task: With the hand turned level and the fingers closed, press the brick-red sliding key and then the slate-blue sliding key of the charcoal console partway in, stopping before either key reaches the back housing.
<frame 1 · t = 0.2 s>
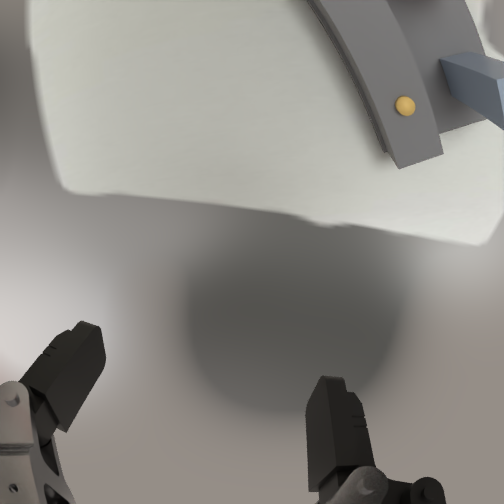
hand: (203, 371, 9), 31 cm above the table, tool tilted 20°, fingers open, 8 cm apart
blue key: (487, 84, 18), point 7 cm above the table, slide at 0.0 cm
console: (437, 20, 19), on the table
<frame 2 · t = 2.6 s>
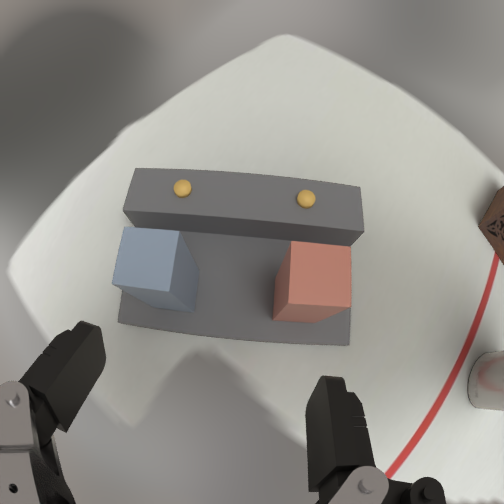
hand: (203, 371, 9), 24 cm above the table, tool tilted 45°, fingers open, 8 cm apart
blue key: (163, 276, 28), point 7 cm above the table, slide at 0.0 cm
console: (235, 297, 35), on the table
red key: (305, 289, 28), point 7 cm above the table, slide at 0.0 cm
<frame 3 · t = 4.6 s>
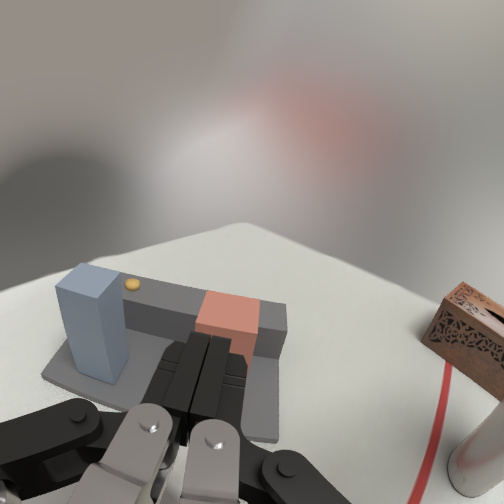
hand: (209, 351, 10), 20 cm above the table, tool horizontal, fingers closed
blue key: (95, 326, 27), point 7 cm above the table, slide at 0.0 cm
console: (158, 386, 30), on the table
red key: (222, 358, 27), point 7 cm above the table, slide at 0.0 cm
tissue box cover: (478, 363, 40), on the table
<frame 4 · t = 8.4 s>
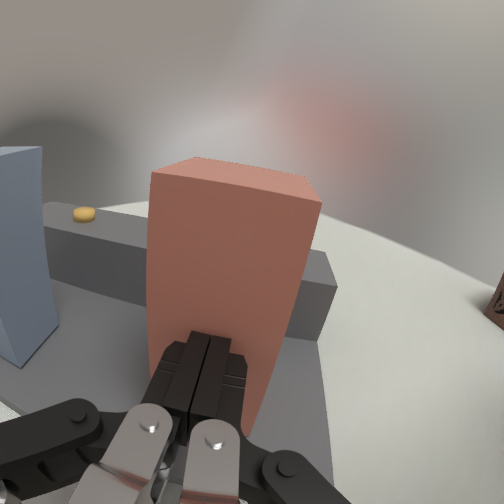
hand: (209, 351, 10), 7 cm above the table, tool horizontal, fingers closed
console: (98, 380, 15), on the table
red key: (221, 310, 13), point 7 cm above the table, slide at 0.7 cm, touching gripper
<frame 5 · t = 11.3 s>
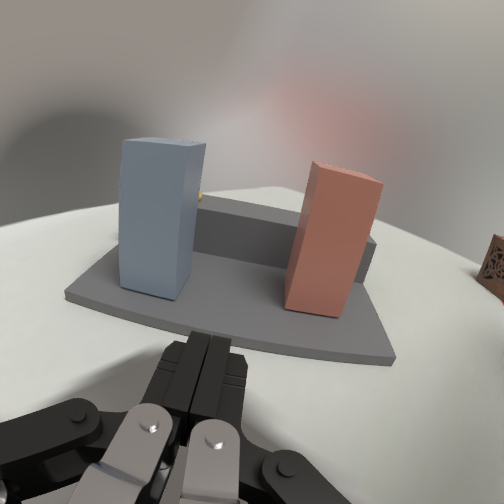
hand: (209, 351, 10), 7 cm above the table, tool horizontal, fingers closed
blue key: (159, 215, 23), point 7 cm above the table, slide at 0.0 cm
console: (231, 306, 26), on the table
red key: (328, 239, 24), point 7 cm above the table, slide at 2.0 cm
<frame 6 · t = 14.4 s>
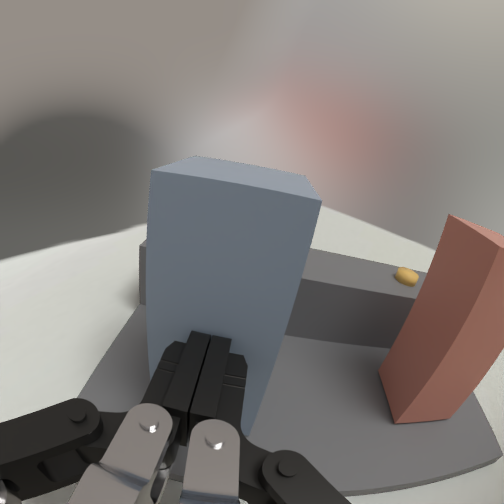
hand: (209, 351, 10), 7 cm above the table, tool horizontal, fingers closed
blue key: (221, 309, 13), point 7 cm above the table, slide at 0.6 cm, touching gripper
console: (321, 426, 15), on the table
red key: (457, 329, 14), point 7 cm above the table, slide at 2.0 cm
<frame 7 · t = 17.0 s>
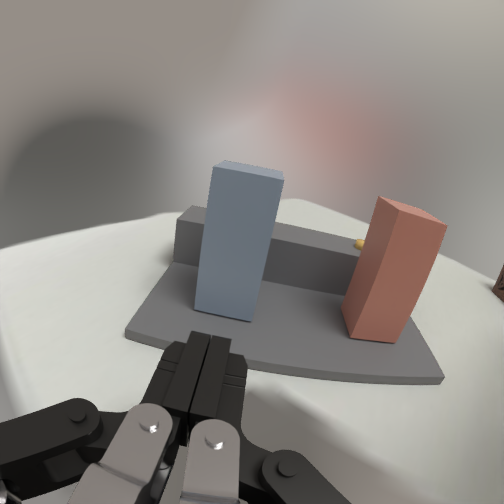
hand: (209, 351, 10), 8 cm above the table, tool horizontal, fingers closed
blue key: (237, 240, 24), point 7 cm above the table, slide at 1.9 cm
console: (298, 337, 25), on the table
red key: (390, 271, 24), point 7 cm above the table, slide at 2.0 cm
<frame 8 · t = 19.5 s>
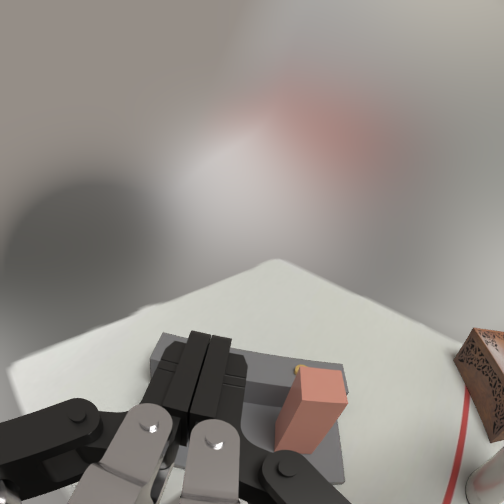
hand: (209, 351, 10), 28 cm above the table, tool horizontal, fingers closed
console: (238, 447, 32), on the table
red key: (306, 415, 31), point 7 cm above the table, slide at 2.0 cm
tissue box cover: (490, 398, 41), on the table
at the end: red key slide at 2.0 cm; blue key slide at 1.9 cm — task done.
